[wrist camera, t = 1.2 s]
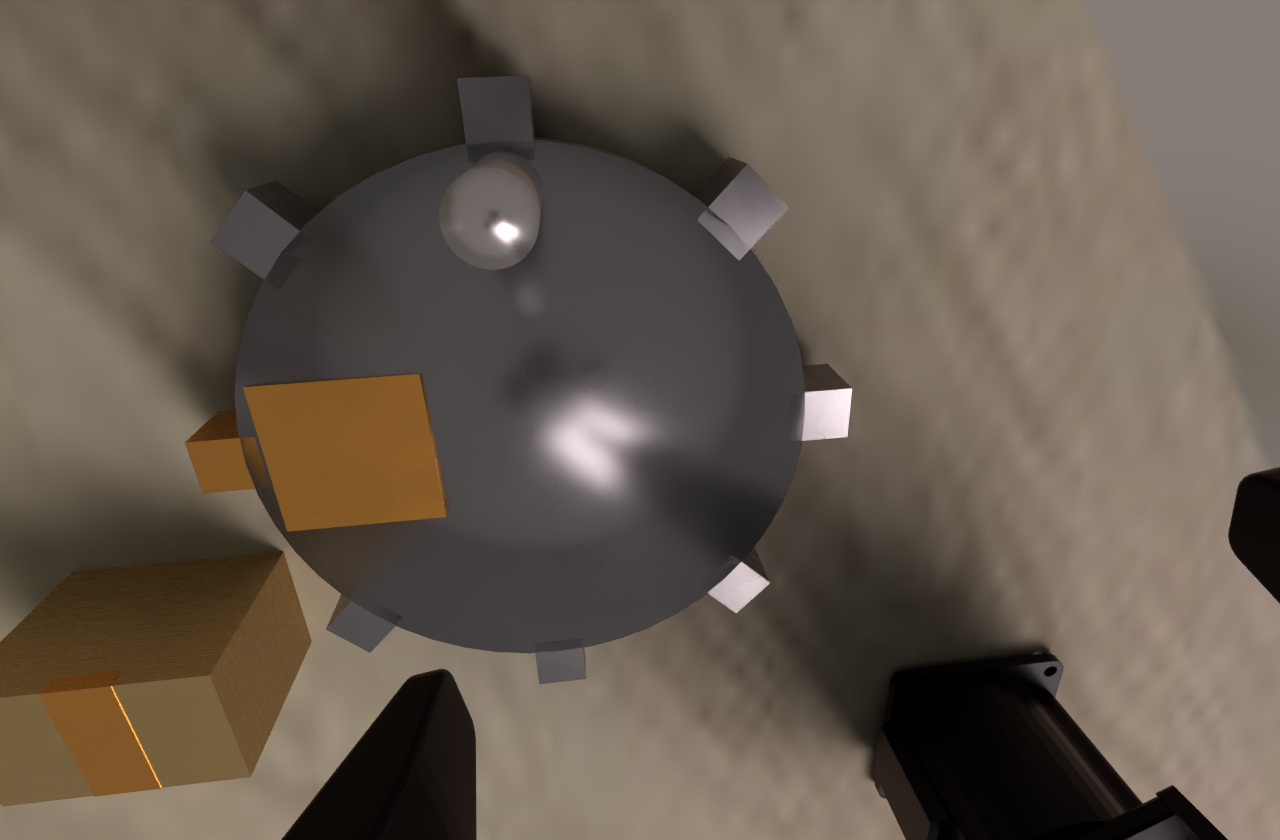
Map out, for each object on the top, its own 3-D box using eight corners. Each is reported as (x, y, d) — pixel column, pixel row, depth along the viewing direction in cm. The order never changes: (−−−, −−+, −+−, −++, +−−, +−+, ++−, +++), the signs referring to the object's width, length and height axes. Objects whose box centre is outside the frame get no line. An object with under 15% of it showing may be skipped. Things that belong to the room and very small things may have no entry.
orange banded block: (284, 550, 21) (208, 676, 16) (312, 640, 22) (250, 777, 18) (73, 570, 20) (-65, 705, 16) (116, 660, 22) (1, 807, 17)
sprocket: (851, 64, 16) (991, 48, 11) (807, 612, 23) (880, 762, 18) (113, 95, 15) (-125, 93, 10) (302, 667, 22) (222, 846, 17)
